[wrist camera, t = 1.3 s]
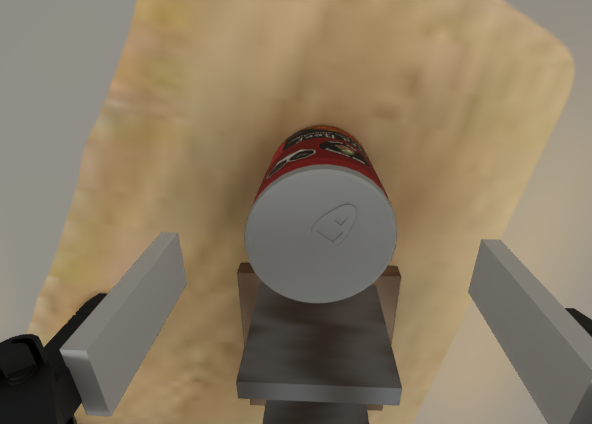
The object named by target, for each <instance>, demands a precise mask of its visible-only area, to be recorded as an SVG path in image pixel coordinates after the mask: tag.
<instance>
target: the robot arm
mask: <svg viewBox="0 0 592 424" xmlns="http://www.w3.org/2000/svg"><path fill="white" fill-rule="evenodd" d="M186 284H187V280H186V274H185V269H184V263H183V258H182V252H181V247H180V241H179V236H178V233H163V232H161V233H160V235H159V236H158V237H157V238H156V239H155V240H154V241H153V243H152V244H151V245H150V246H149V247H148V248H147V249H146V251H145V252H144V253H143V254H142V255H141V256H140V257H139V259H138V260H137V261H136V262H135V263H134V264H133V266H132V267H131V268H130V269H129V270H128V271H127V272H126V274H125V275H124V276H123V277H122V278H121V279H120V280H119V282H118V283H117V284H116V285H115V286H114V287H113V289H112V290H111V291H110V292H109V293H108V294H103V293H99V294H98V295H96V296H95V297H93V298H92V299H90V300H89V301H87V302H86V303H85V304H84V305H83V306H82V307H81V308H80V309H79V310H78V311H77V312H76V315H73V317H72V318H71V319H70V320H69V321H68V323H67V324H65V325H64V326H63V327H62V328H61V329H60V331H59V332H58V333H57V334H56V335H55V336H54V337H53V338H52V339H51V340H50V341H49V342H48V343H47V345H46V346H45V347H43V345H42V343H41V341H40V339H39V337H38V336H36V335H33V334H24V335H19V336H15V337H12V338H10V339H7V340H5V341H3V342H1V343H0V424H77V422H76V419H75V417H74V413H75V411H76V410H77V409H78V407H79V406H80V404H81V403H82V404H83V407H84V409H85V411H86V414H87V415H97V416H111V415H112V414H113V412H114V410H115V408H116V407H117V405H118V403H119V401H120V400H121V398H122V396H123V394H124V393H125V391H126V389H127V387H128V386H129V384H130V382H131V380H132V379H133V377H134V375H135V373H136V372H137V370H138V368H139V366H140V365H141V363H142V361H143V359H144V358H145V356H146V354H147V352H148V351H149V349H150V347H151V345H152V344H153V342H154V340H155V338H156V337H157V335H158V333H159V331H160V330H161V328H162V326H163V324H164V323H165V321H166V319H167V317H168V316H169V314H170V312H171V310H172V309H173V307H174V305H175V303H176V302H177V300H178V298H179V296H180V295H181V293H182V291H183V289H184V288H185V286H186ZM468 292H469V294H470V296H471V297H472V299H473V301H474V302H475V304H476V306H477V307H478V309H479V311H480V312H481V314H482V315H483V317H484V319H485V320H486V322H487V324H488V325H489V327H490V329H491V330H492V332H493V334H494V335H495V337H496V339H497V340H498V342H499V344H500V345H501V347H502V348H503V350H504V352H505V353H506V355H507V357H508V358H509V360H510V362H511V363H512V365H513V367H514V368H515V370H516V371H517V373H518V375H519V377H520V378H521V380H522V381H523V383H524V385H525V386H526V388H527V390H528V391H529V393H530V395H531V396H532V398H533V400H534V401H535V403H536V404H537V406H538V408H539V410H540V411H541V413H542V414H543V416H544V418H545V420H546V421H547V423H548V424H592V320H591V319H590V318H588V317H587V316H585V315H583V314H582V313H580V312H579V311H577V310H576V309H574V308H564V307H563V306H562V305H561V304H560V303H559V302H558V301H557V300H556V299H555V298H554V296H553V295H552V294H551V293H550V292H549V291H548V290H547V289H546V288H545V287H544V286H543V285H542V284H541V283H540V282H539V280H538V279H537V278H536V277H535V276H534V275H533V274H532V273H531V272H530V271H529V270H528V269H527V268H526V267H525V266H524V265H523V264H522V262H521V261H520V260H519V259H518V258H517V257H516V256H515V255H514V254H513V253H512V252H511V251H510V250H509V249H508V247H507V246H506V245H505V244H504V243H503V242H502V241H501V240H487V239H481V243H480V247H479V251H478V255H477V259H476V263H475V267H474V271H473V275H472V279H471V283H470V287H469V291H468Z"/></svg>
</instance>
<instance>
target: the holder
mask: <svg viewBox="0 0 592 424" xmlns="http://www.w3.org/2000/svg"><path fill="white" fill-rule="evenodd" d="M237 276H238V286H239V296H240V306H241V316H242V326H243V336H244V346H245V348H244V352H243V356H242V360H241V364H240V368H239V372H238V376H237V381H236V384H237V392H238V398H243V399H250V405H265V411H264V418H263V424H369V421H368V413H367V410H380V411H382V408H383V405H399V403H400V398H401V392H402V386H401V382H400V378H399V375H398V371H397V367H396V363H395V359H394V355H393V351H392V347H391V344H392V337H393V330H394V323H395V316H396V309H397V302H398V294H399V287H400V280H401V275H400V273H399V270H398V267H392V266H387V267H386V269H385V270H384V272H383V273H382V274H381V275H380V276H379V277H378V279H377V280H376V281H375V282H374V283H372V284H371V285H370V286H368V287H367V288H366V289H364V290H363V291H361V292H359V293H357V294H355V295H353V296H351V297H348V298H345V299H342V300H339V301H334V302H328V303H307V302H301V301H296V300H293V299H290V298H287V297H285V296H283V295H281V294H279V293H277V292H275V291H273V290H272V289H271V288H270V287H268V286H267V285H266V284H265V283H263V281H262V280H261V279H260V278H259V277H258V276H257V274H256V273H255V271H254V270H253V268H252V266H251V264H250V263H241V264H240V266H239V269H238V272H237Z"/></svg>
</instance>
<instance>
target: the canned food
mask: <svg viewBox="0 0 592 424" xmlns="http://www.w3.org/2000/svg"><path fill="white" fill-rule="evenodd" d="M396 238H397V229H396V220H395V215H394V212H393V209H392V206H391V203H390V201H389V199H388V197H387V194H386V192H385V190H384V188H383V186H382V184H381V182H380V180H379V178H378V176H377V174H376V172H375V170H374V168H373V166H372V164H371V162H370V160H369V158H368V156H367V154H366V152H365V151H364V149H363V148H362V146H361V144H360V143H359V142H358V141H357V140H356V139H355V138H354V137H353V136H351V135H350V134H348V133H346V132H345V131H342V130H340V129H337V128H333V127H327V126H319V127H311V128H307V129H304V130H301V131H299V132H297V133H295V134H294V135H292V136H291V137H289V138H288V139H287V140H286V141H285V142H284V143H283V144H282V145H281V146H280V147H279V148H278V150H277V152H276V153H275V155H274V157H273V159H272V161H271V164H270V166H269V168H268V170H267V173H266V175H265V177H264V179H263V182H262V184H261V186H260V188H259V191H258V193H257V195H256V197H255V200H254V203H253V205H252V208H251V211H250V213H249V216H248V219H247V224H246V231H245V248H246V253H247V256H248V259H249V263H250V264H251V266H252V268H253V270H254V271H255V273H256V274H257V276H258V277H259V278H260V279H261V280H262V281H263V283H265V284H266V285H267V286H268V287H270V288H271V289H272V290H273V291H275V292H277V293H279V294H281V295H283V296H285V297H287V298H290V299H293V300H296V301H301V302H307V303H328V302H334V301H339V300H342V299H345V298H348V297H351V296H353V295H355V294H357V293H359V292H361V291H363V290H364V289H366V288H367V287H368V286H370V285H371V284H372V283H374V282H375V281H376V280H377V279H378V277H379V276H380V275H381V274H382V273H383V272H384V270H385V269H386V267H387V266H388V264H389V262H390V261H391V258H392V255H393V253H394V250H395V246H396Z"/></svg>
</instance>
